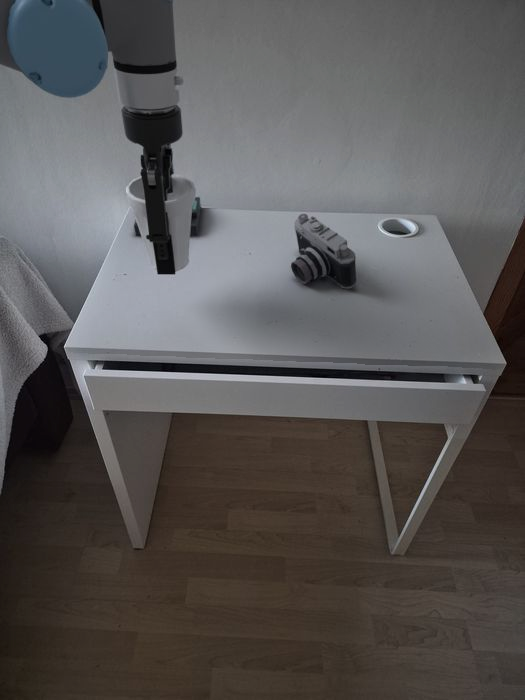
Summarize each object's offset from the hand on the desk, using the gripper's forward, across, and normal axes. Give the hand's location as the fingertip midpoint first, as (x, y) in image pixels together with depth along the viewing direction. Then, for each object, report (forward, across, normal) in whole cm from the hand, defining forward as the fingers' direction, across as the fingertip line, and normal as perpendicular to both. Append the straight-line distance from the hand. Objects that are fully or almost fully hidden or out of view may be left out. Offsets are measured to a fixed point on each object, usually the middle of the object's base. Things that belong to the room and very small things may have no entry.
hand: (169, 257), depth 73 cm
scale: (+9, +29, +4) cm, 31 cm away
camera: (+9, +8, -26) cm, 29 cm away
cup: (+1, 0, 0) cm, 1 cm away
